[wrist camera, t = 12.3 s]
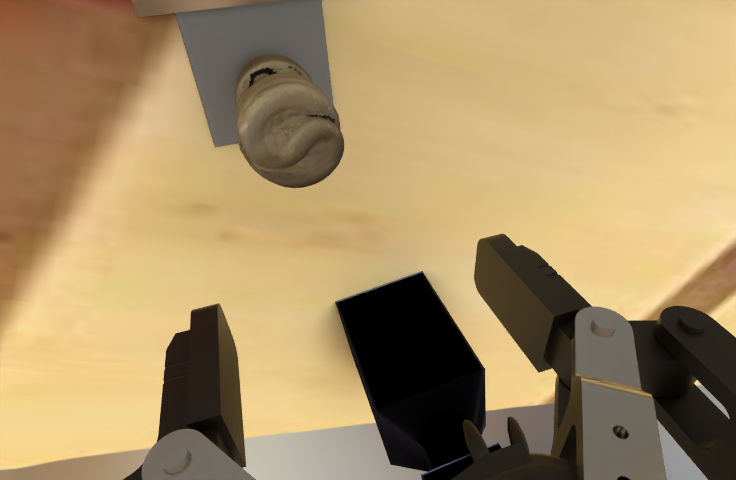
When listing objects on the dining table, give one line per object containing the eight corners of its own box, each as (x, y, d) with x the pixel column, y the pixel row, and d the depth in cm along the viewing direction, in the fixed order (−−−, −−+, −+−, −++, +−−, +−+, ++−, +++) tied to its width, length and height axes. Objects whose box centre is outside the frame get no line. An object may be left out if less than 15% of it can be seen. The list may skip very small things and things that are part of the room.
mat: (318, -10, 31) (320, -9, 31) (333, 123, 37) (335, 125, 37) (174, 6, 29) (173, 7, 29) (214, 144, 35) (215, 147, 35)
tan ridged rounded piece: (210, 75, 32) (214, 160, 20) (257, 15, 31) (290, 68, 19) (271, 123, 35) (305, 219, 23) (316, 70, 34) (375, 144, 22)
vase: (444, 254, 50) (729, 638, 23) (450, 319, 57) (672, 672, 30) (327, 295, 48) (486, 765, 21) (348, 357, 55) (486, 769, 28)
